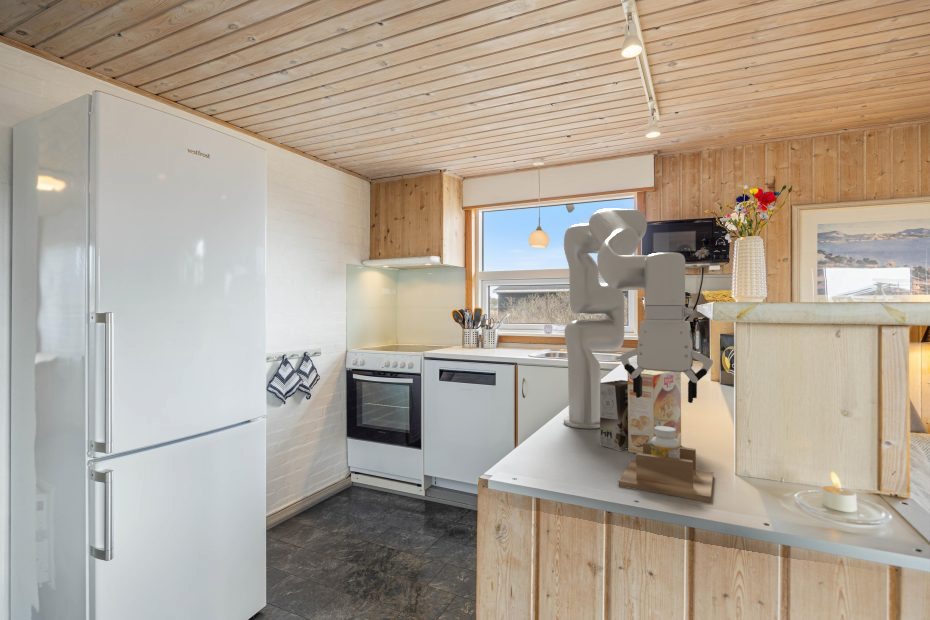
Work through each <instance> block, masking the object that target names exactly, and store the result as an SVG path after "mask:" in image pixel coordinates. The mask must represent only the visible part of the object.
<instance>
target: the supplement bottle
mask: <svg viewBox="0 0 930 620" xmlns="http://www.w3.org/2000/svg"><path fill="white" fill-rule="evenodd" d="M654 434H655V435H656V436H655V437H653V438H652V439H651V455H656V456H664V457H671V458H678V459H680V447H681V446H680V443H679V441H678V440H677V439H675V438H674V437H676V429H674V428H672V427H666V426H657V427H654Z"/></svg>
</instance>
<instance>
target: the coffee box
mask: <svg viewBox="0 0 930 620" xmlns="http://www.w3.org/2000/svg"><path fill="white" fill-rule="evenodd" d="M599 437H600V438H599V445H600V446H603V447H606V448H609V449H612V450H615V451H619V452H620V451H621V452H622V451H624V450H628V380H623V379H619V380H613V381H606V382H605V381H603V382H601V383H600V428H599Z"/></svg>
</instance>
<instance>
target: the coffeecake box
mask: <svg viewBox="0 0 930 620" xmlns="http://www.w3.org/2000/svg"><path fill="white" fill-rule="evenodd" d="M681 376H682V372H669V371H655V370H643V372H642V373H641V377H642V396H641V397H639V398H636V393H634V392H633V378H632V376H631V375H630V374H629V373H628V372H627V381H628V449H627V452H628V453H632V454H633V453H634V454H635V455H636V454H637V453H642V454H643V443H644V442H646V443H651V439H652V438H653V437H655V436H656V435H655V434H654V427H657V426H666V427H672V428H674V429H676V437H674V438H675V439H677V440H678V441H679V443H680V447H682V385H681V384H682V383H681V382H682V381H681V380H682V377H681Z"/></svg>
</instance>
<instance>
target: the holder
mask: <svg viewBox="0 0 930 620" xmlns="http://www.w3.org/2000/svg"><path fill="white" fill-rule="evenodd" d="M696 458H697V451H696V448H692V447H684V446H683V447H682V446H680V459H678V458H671V457H664V456H656V455H651V443H646V442H644V443H643V454H642V453H637V454H636V453H635V460H634V459H633V460H630V462H629V463H628V465H627V467H626V468H625V469H624V471H623V473H622V474H621V476H620V477H619V479H618V480H617V481H618V482H617V486H618V487H623V488H627V489H634V490H638V491H643V492H650V493H657V494H662V495H667V496H672V497H678V498H679V497H680V498H685V499H690V500H695V501H696V500H697V501H701V502H706V503H712V493H713V492H712V491H713V483H714V472H713V471H709V470H708V471H706V470H701V469H697V459H696Z"/></svg>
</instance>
